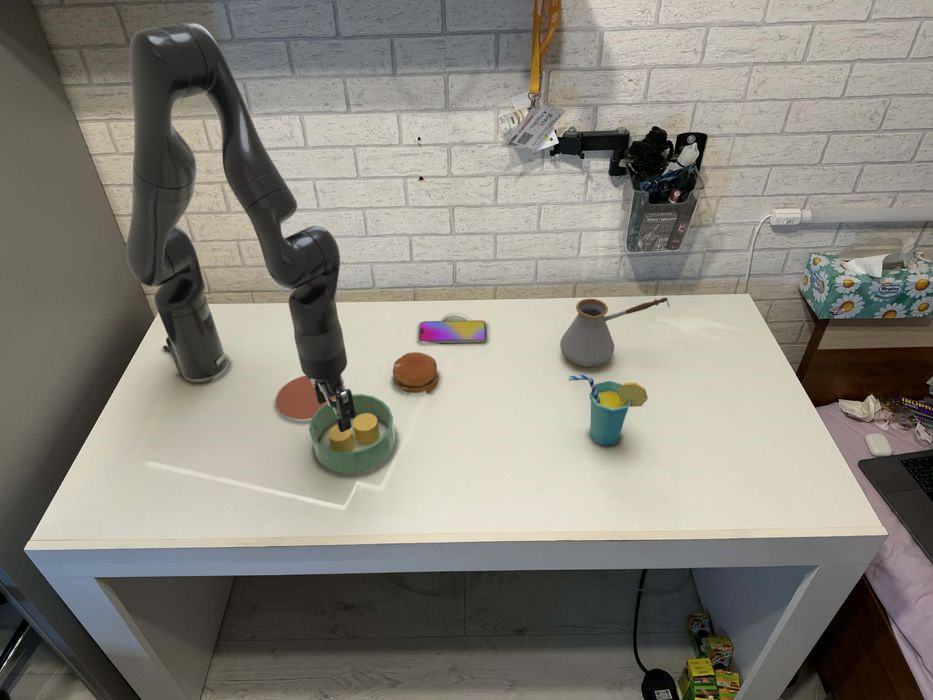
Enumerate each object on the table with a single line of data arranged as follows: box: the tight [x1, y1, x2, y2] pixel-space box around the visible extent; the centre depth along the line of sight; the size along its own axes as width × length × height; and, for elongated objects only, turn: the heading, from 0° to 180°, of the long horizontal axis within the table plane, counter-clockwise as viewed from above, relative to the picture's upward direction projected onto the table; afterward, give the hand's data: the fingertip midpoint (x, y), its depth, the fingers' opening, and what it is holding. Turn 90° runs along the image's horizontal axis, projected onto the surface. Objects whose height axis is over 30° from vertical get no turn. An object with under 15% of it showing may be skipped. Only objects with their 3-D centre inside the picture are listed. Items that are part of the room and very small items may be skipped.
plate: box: [275, 375, 335, 420], centre depth 133 cm, size 13×13×1 cm
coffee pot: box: [559, 297, 671, 368], centre depth 137 cm, size 21×12×15 cm, turn 89°
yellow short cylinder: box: [352, 413, 381, 445], centre depth 123 cm, size 5×5×4 cm
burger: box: [392, 351, 439, 393], centre depth 136 cm, size 10×9×5 cm
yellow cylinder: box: [327, 424, 355, 452], centre depth 120 cm, size 4×4×4 cm
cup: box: [568, 374, 648, 447], centre depth 119 cm, size 14×8×15 cm, turn 84°
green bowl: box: [308, 393, 396, 474], centre depth 121 cm, size 15×15×6 cm
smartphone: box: [418, 320, 487, 344], centre depth 148 cm, size 7×1×15 cm
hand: (334, 415), depth 116 cm, fingers open, 8 cm apart
